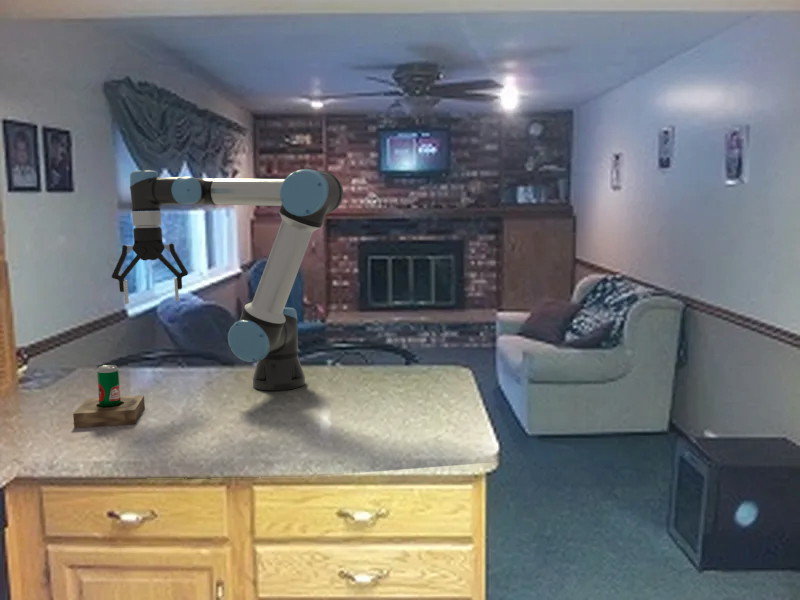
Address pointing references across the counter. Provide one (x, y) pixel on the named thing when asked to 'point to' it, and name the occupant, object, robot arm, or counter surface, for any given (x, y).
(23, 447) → the counter surface
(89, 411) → the board
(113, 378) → the soda can
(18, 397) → the counter surface
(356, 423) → the counter surface
